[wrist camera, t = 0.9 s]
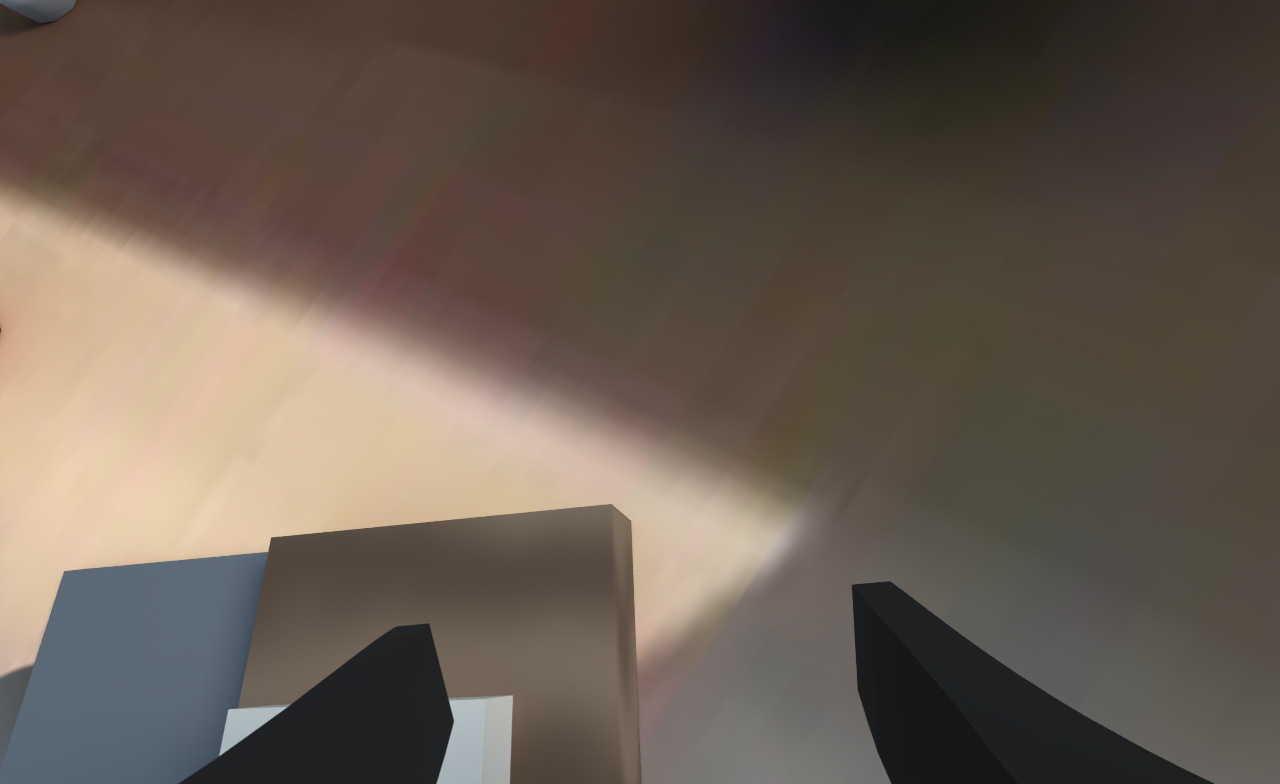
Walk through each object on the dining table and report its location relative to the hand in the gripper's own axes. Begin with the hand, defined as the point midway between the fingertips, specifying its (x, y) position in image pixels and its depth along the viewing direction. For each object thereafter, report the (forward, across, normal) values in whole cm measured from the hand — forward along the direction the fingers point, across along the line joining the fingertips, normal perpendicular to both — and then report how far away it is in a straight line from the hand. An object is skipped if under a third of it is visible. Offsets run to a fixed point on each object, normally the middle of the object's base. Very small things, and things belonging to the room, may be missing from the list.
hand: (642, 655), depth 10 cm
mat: (+11, +23, +10) cm, 27 cm away
